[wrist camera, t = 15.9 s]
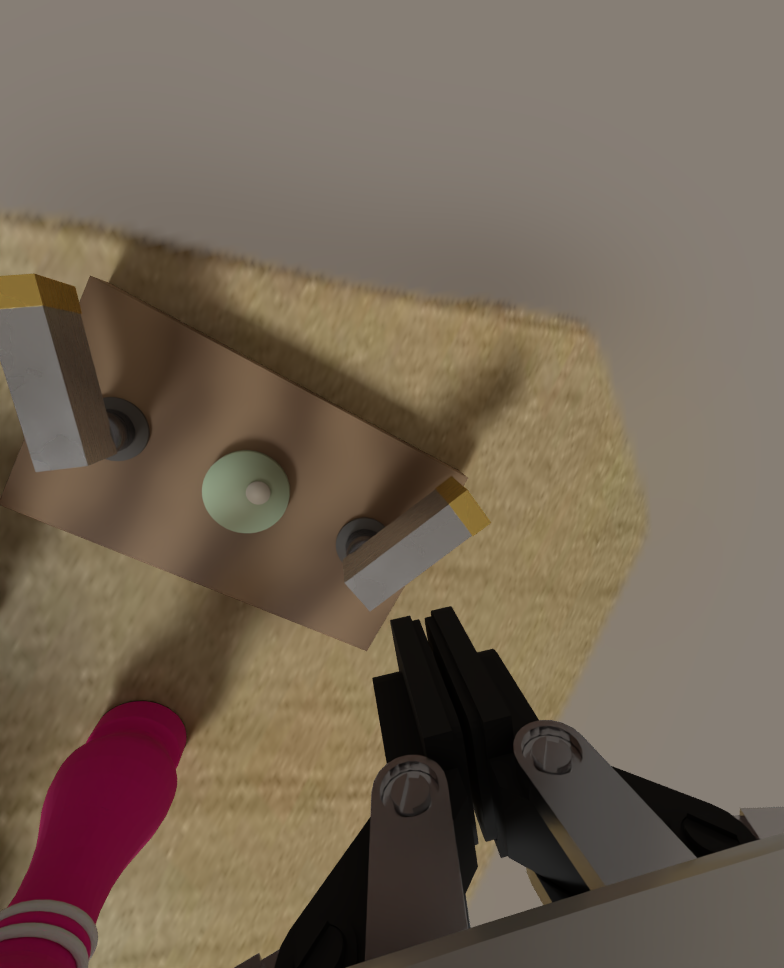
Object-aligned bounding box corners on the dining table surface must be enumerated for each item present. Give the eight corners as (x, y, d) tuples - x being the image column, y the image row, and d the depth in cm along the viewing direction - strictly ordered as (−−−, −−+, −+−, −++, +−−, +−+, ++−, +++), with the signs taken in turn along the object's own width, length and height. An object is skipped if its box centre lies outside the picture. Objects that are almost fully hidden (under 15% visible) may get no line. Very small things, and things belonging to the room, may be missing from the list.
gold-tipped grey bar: (139, 448, 26) (90, 470, 20) (95, 453, 25) (33, 477, 20) (101, 294, 24) (35, 273, 18) (51, 298, 23) (-30, 278, 18)
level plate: (20, 494, 28) (-15, 509, 25) (107, 282, 26) (80, 271, 23) (364, 634, 34) (368, 659, 31) (459, 471, 31) (473, 481, 29)
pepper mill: (174, 682, 32) (-47, 1139, 13) (207, 759, 34) (58, 1255, 15) (71, 710, 32) (-315, 1232, 13) (111, 787, 34) (-170, 1338, 15)
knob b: (360, 570, 30) (368, 615, 24) (337, 544, 29) (340, 584, 24) (461, 494, 29) (491, 523, 24) (440, 466, 28) (467, 489, 23)
